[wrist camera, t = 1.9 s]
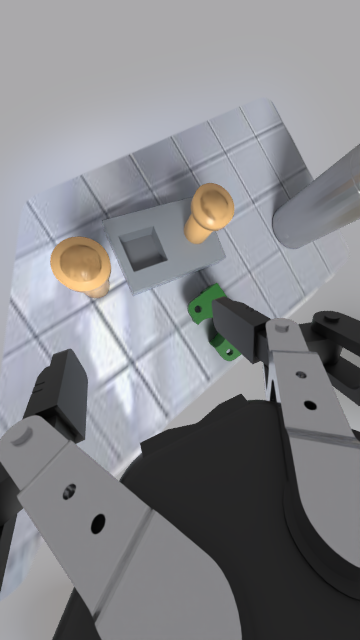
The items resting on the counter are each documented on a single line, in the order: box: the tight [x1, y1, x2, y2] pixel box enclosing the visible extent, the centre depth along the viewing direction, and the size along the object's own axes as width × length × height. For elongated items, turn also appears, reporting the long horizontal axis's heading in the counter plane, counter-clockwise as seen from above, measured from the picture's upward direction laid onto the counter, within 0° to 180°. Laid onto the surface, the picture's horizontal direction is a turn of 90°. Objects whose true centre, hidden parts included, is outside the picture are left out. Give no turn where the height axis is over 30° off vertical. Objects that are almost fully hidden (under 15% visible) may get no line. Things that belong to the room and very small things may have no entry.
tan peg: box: [50, 237, 111, 298], centre depth 25 cm, size 6×6×10 cm
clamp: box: [188, 283, 241, 361], centre depth 32 cm, size 12×6×9 cm, turn 33°
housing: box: [102, 183, 234, 296], centre depth 28 cm, size 16×11×10 cm, turn 115°
